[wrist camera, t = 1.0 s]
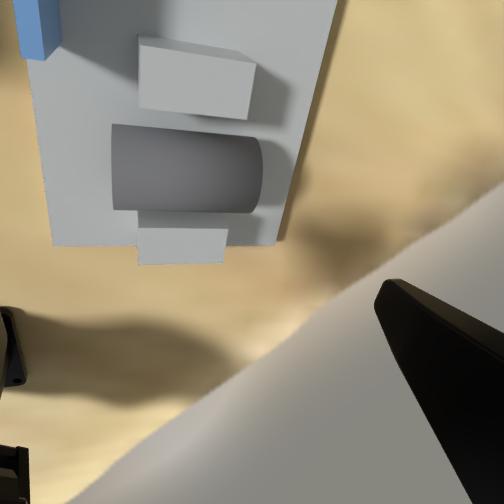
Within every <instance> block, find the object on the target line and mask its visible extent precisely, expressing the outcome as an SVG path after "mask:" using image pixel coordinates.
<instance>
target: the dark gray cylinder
mask: <svg viewBox="0 0 504 504" xmlns="http://www.w3.org/2000/svg"><path fill="white" fill-rule="evenodd" d="M111 172H112V201H113V210H130V211H170V212H209V213H248V214H250V213H252V212H253V211H254V210H255V208H256V206H257V204H258V201H259V197H260V193H261V188H262V180H263V159H262V152H261V147H260V144H259V142H258V140H257V139H256V138H255V137H249V136H238V135H228V134H217V133H207V132H196V131H186V130H175V129H165V128H154V127H144V126H133V125H123V124H112V129H111Z"/></svg>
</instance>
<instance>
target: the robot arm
mask: <svg viewBox="0 0 504 504" xmlns="http://www.w3.org/2000/svg"><path fill="white" fill-rule="evenodd" d="M374 310H375V312H376V315H377V317H378V319H379V322H380V324H381V327H382V329H383V331H384V334H385V336H386V339H387V341H388V344H389V346H390V348H391V351H392V353H393V355H394V358H395V360H396V362H397V364H398V366H399V368H400V370H401V371H402V373H403V375H404V377H405V379H406V381H407V382H408V384H409V386H410V388H411V390H412V392H413V394H414V396H415V397H416V399H417V401H418V403H419V405H420V407H421V409H422V410H423V412H424V414H425V416H426V418H427V420H428V422H429V424H430V425H431V427H432V429H433V431H434V433H435V435H436V436H437V439H438V440H439V442H440V444H441V446H442V448H443V450H444V452H445V453H446V455H447V457H448V459H449V461H450V463H451V465H452V466H453V468H454V470H455V472H456V474H457V476H458V478H459V480H460V481H461V483H462V485H463V487H464V489H465V491H466V493H467V494H468V496H469V498H470V500H471V502H472V504H504V333H502V332H501V331H499V330H497V329H495V328H493V327H491V326H489V325H487V324H485V323H483V322H482V321H480V320H478V319H476V318H474V317H472V316H470V315H468V314H466V313H464V312H463V311H461V310H459V309H457V308H455V307H453V306H451V305H449V304H447V303H445V302H443V301H441V300H440V299H438V298H436V297H434V296H432V295H430V294H428V293H426V292H425V291H423V290H421V289H419V288H417V287H415V286H413V285H411V284H409V283H408V282H406V281H404V280H402V279H388V280H385V281H384V282H383V284H382V286H381V288H380V290H379V293H378V295H377V297H376V299H375V302H374ZM2 317H4V318H2ZM26 379H27V371H26V367H25V363H24V359H23V355H22V351H21V347H20V343H19V339H18V335H17V331H16V327H15V323H14V319H13V315H12V313H11V311H9V310H8V309H5V308H0V398H1V395H2V392H3V388H4V387H11V386H19V385H23V384H24V383H25V382H26ZM0 504H30V481H29V450H28V448H25V447H20V446H17V447H16V448H15V447H10V446H5V445H0Z"/></svg>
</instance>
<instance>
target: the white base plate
mask: <svg viewBox="0 0 504 504" xmlns="http://www.w3.org/2000/svg"><path fill="white" fill-rule="evenodd" d="M336 4H337V0H13V5H14V12H15V19H16V25H17V32H18V39H19V45H20V52H21V58H25V59H26V60H27V67H28V74H29V81H30V88H31V95H32V102H33V109H34V116H35V123H36V130H37V137H38V144H39V151H40V158H41V165H42V172H43V179H44V186H45V193H46V200H47V207H48V214H49V221H50V228H51V235H52V242H53V246H137V251H138V265H160V264H213V263H223V259H224V253H225V247H226V246H274V245H275V243H276V239H277V235H278V231H279V227H280V223H281V219H282V215H283V211H284V207H285V204H286V200H287V196H288V192H289V188H290V184H291V180H292V176H293V172H294V168H295V164H296V160H297V157H298V153H299V149H300V145H301V141H302V137H303V133H304V129H305V125H306V121H307V117H308V114H309V110H310V106H311V102H312V98H313V94H314V90H315V86H316V82H317V78H318V74H319V71H320V67H321V63H322V59H323V55H324V51H325V47H326V43H327V39H328V35H329V31H330V28H331V24H332V20H333V16H334V12H335V8H336ZM112 124H123V125H133V126H144V127H154V128H165V129H175V130H186V131H196V132H207V133H217V134H228V135H238V136H249V137H255V138H256V139H257V140H258V142H259V144H260V147H261V152H262V159H263V180H262V188H261V193H260V197H259V201H258V204H257V206H256V208H255V210H254V211H253V212H252V213H250V214H248V213H209V212H170V211H130V210H113V201H112V172H111V129H112Z"/></svg>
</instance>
